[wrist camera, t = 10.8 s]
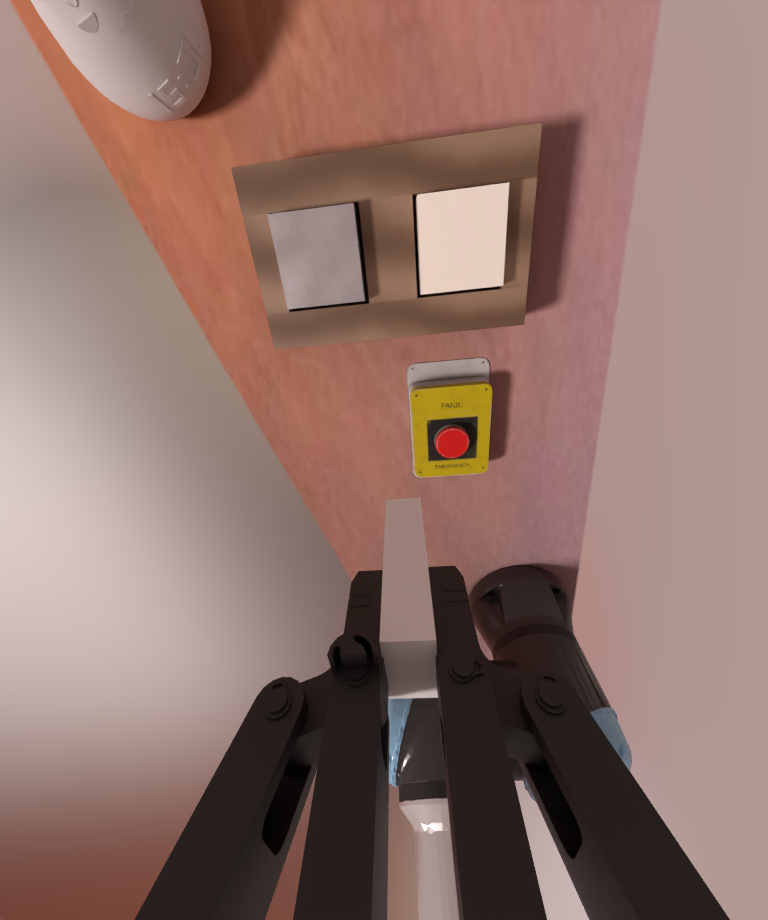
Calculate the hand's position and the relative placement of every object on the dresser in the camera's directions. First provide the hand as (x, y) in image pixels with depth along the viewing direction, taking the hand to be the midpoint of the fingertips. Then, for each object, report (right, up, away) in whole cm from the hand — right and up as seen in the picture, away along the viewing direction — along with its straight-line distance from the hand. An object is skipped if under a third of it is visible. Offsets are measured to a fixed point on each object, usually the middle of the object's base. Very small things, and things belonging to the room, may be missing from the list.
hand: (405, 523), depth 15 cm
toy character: (-19, +36, +12) cm, 42 cm away
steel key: (-6, +21, +16) cm, 27 cm away
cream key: (+6, +22, +15) cm, 28 cm away
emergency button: (+7, +8, +26) cm, 28 cm away
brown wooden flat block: (0, +23, +18) cm, 29 cm away
